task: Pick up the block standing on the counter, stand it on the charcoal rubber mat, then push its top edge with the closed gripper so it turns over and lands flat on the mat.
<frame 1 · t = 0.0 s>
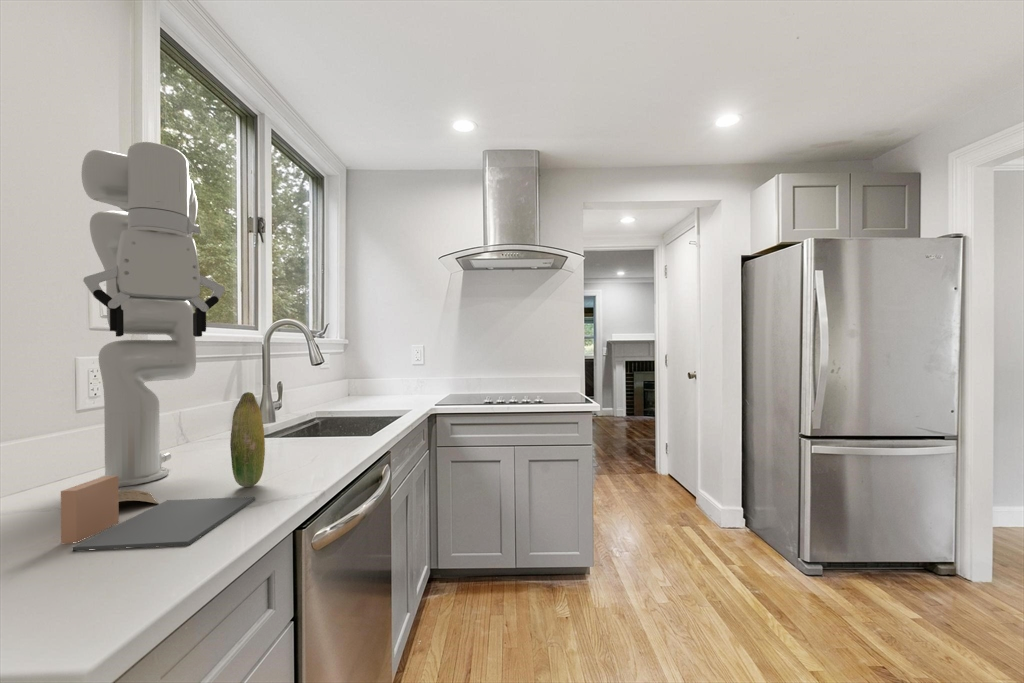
hand: (160, 336, 70), 31 cm above the worktop, tool pointing down, fingers open, 9 cm apart
mat: (176, 521, 76), on the worktop
cork arch piece: (112, 512, 83), on the worktop
block: (91, 532, 72), on the worktop
vegetable: (248, 488, 94), on the worktop
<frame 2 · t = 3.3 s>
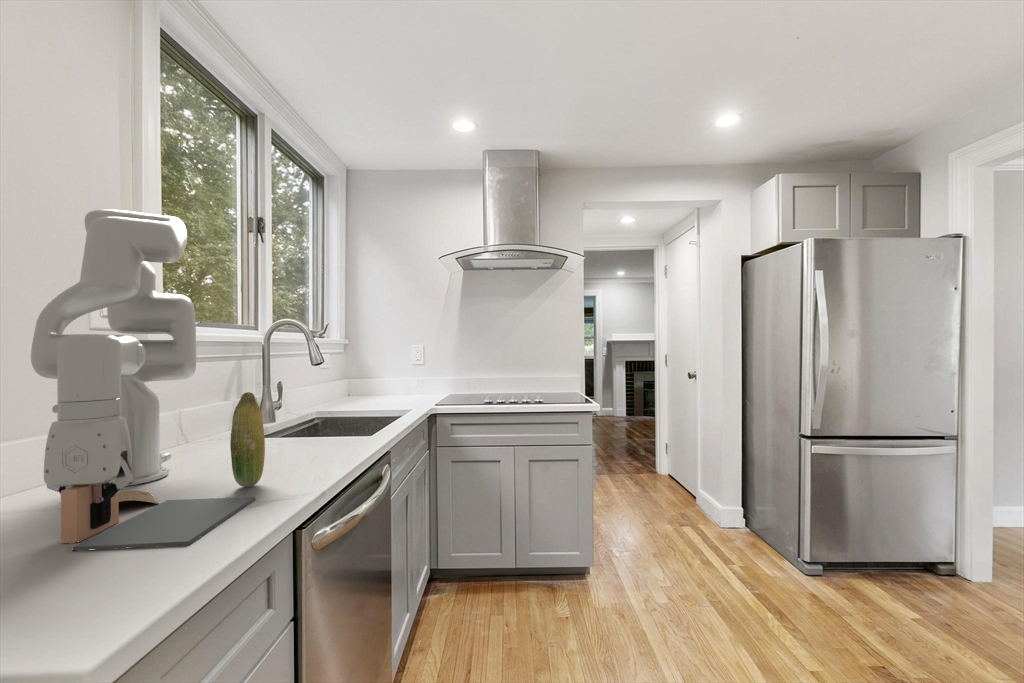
hand: (91, 525, 72), 1 cm above the worktop, tool pointing down, fingers closed on block, 2 cm apart
block: (91, 532, 72), on the worktop, touching gripper
everything else where it was.
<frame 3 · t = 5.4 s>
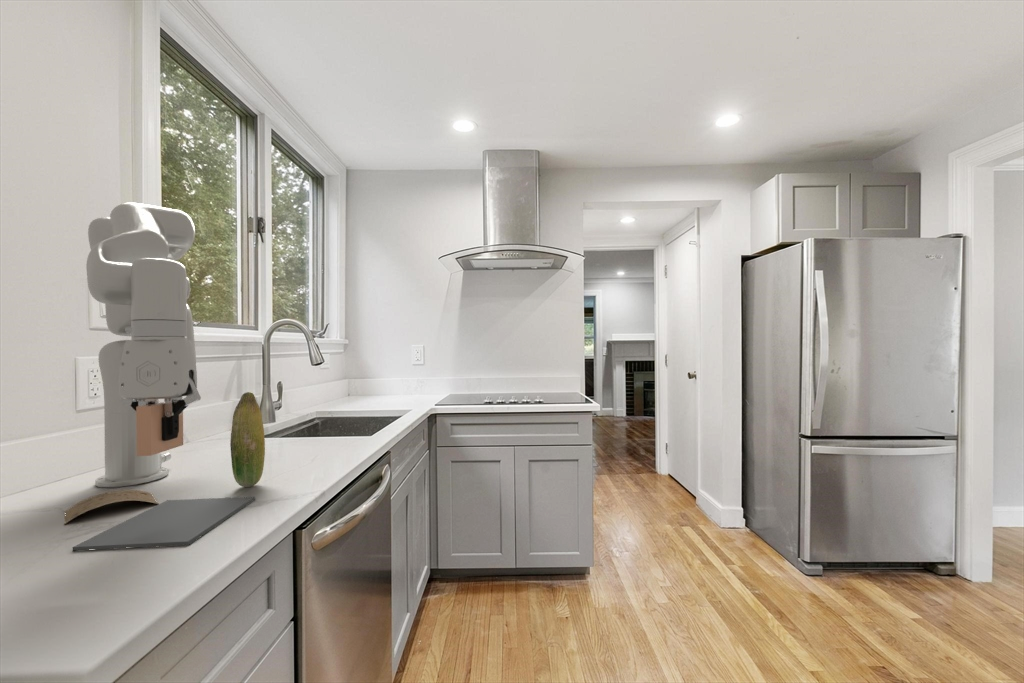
hand: (161, 438, 76), 14 cm above the worktop, tool pointing down, fingers closed on block
block: (161, 450, 76), point 12 cm above the worktop, touching gripper
everything else where it was.
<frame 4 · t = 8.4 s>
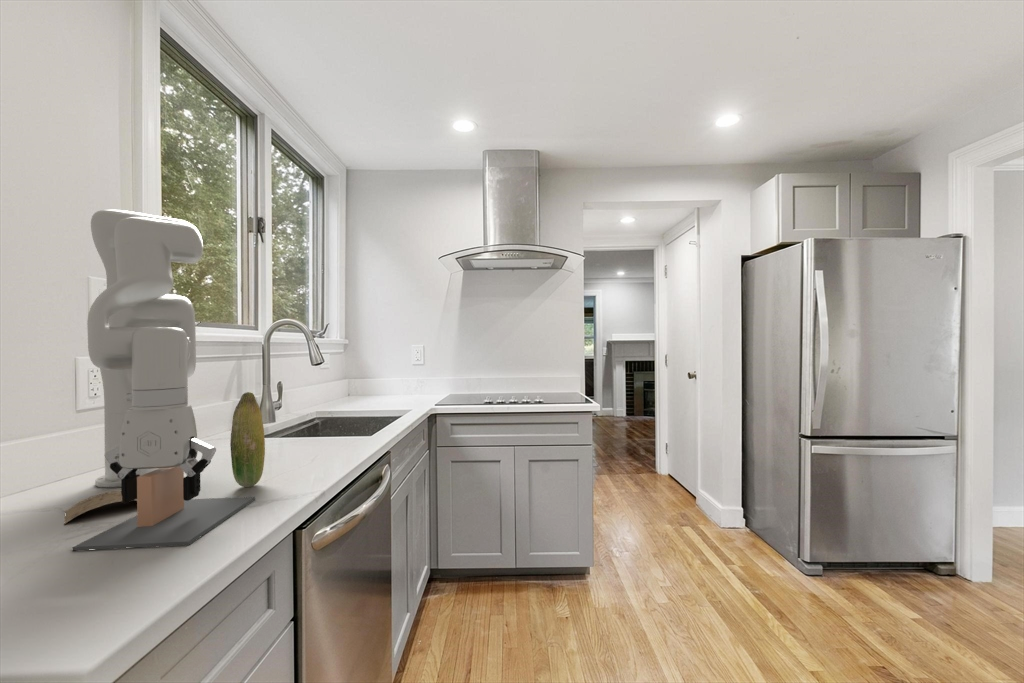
hand: (161, 499, 76), 4 cm above the worktop, tool pointing down, fingers open, 9 cm apart
block: (161, 517, 76), point 1 cm above the worktop, touching mat
everything else where it was.
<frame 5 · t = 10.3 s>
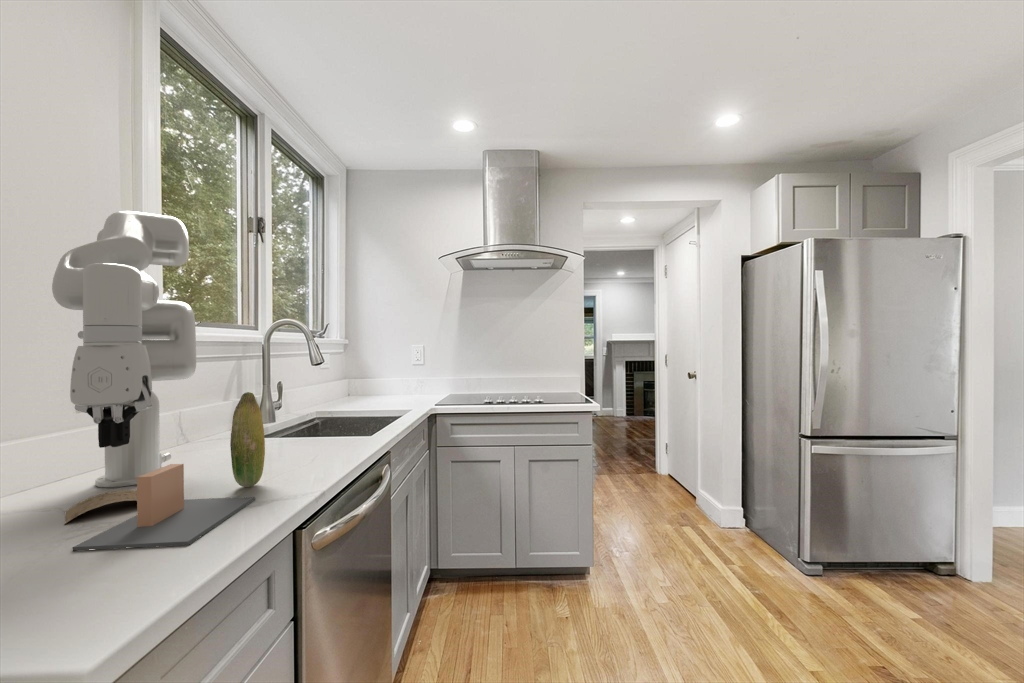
hand: (114, 445, 76), 13 cm above the worktop, tool pointing down, fingers closed
nothing on the worktop moved.
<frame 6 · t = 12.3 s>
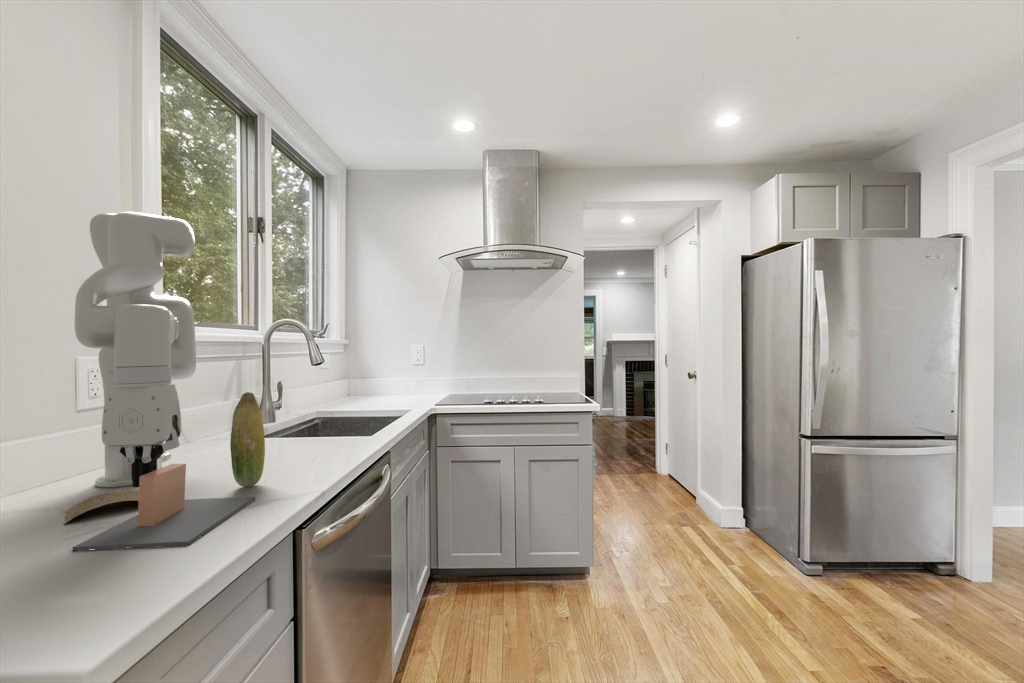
hand: (144, 484, 76), 6 cm above the worktop, tool pointing down, fingers closed
block: (161, 516, 76), point 1 cm above the worktop, touching gripper, mat
everything else where it was.
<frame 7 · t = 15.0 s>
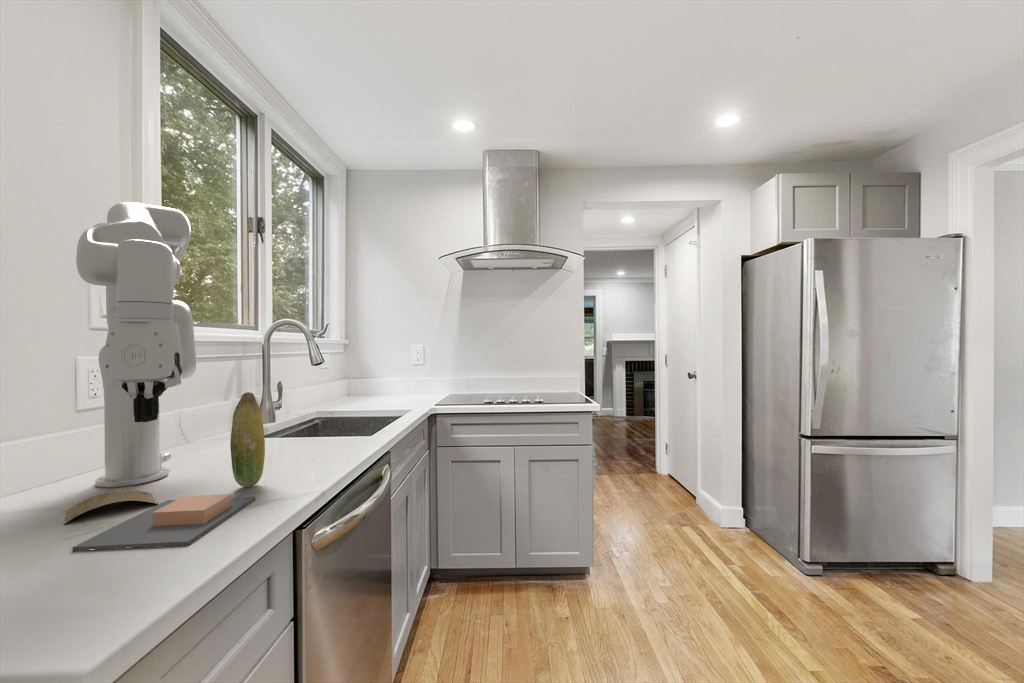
hand: (146, 420, 77), 17 cm above the worktop, tool pointing down, fingers closed
block: (169, 510, 76), point 2 cm above the worktop, tilted 90°, touching mat
everything else where it was.
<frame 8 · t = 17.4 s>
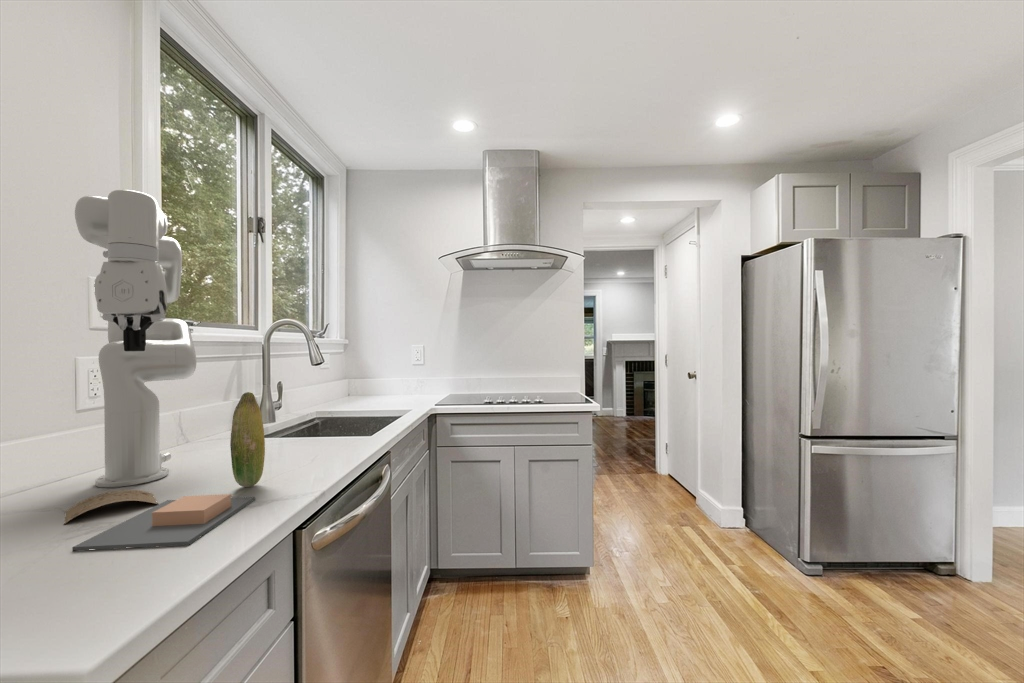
hand: (134, 350, 87), 29 cm above the worktop, tool pointing down, fingers closed
nothing on the worktop moved.
at the end: block tilted 90°; block inside the target area on the mat (1.9 cm from its centre), point 1.7 cm above the mat's base; the gripper is holding nothing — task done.
